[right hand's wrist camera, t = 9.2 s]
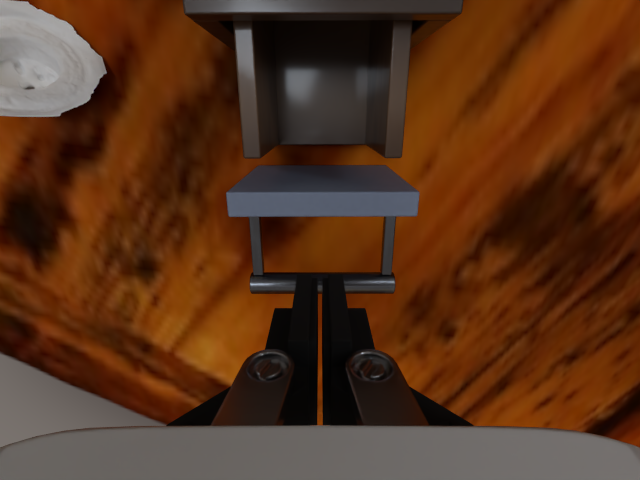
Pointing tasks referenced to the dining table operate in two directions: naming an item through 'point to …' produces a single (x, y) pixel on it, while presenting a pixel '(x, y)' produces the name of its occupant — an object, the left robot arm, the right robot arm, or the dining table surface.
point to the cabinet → (321, 13)
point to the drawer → (322, 131)
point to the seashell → (43, 63)
